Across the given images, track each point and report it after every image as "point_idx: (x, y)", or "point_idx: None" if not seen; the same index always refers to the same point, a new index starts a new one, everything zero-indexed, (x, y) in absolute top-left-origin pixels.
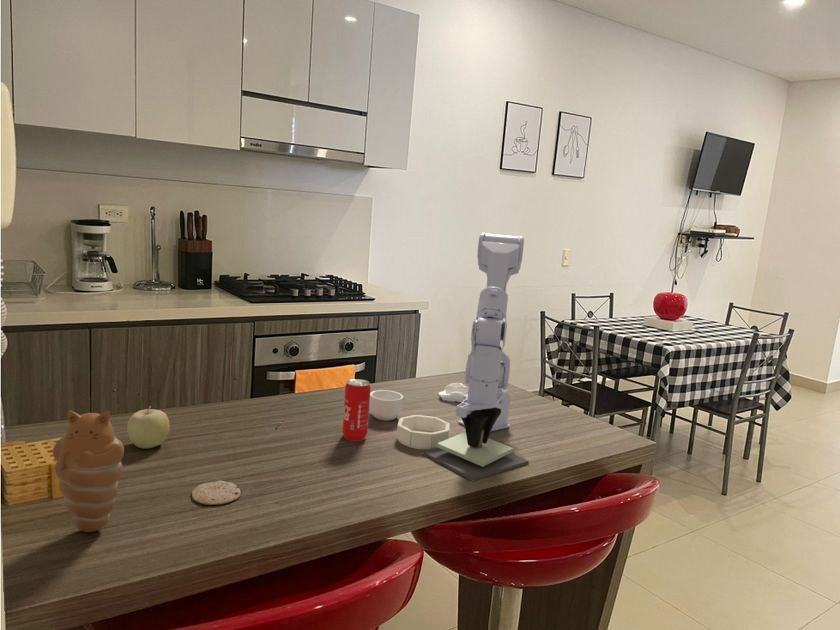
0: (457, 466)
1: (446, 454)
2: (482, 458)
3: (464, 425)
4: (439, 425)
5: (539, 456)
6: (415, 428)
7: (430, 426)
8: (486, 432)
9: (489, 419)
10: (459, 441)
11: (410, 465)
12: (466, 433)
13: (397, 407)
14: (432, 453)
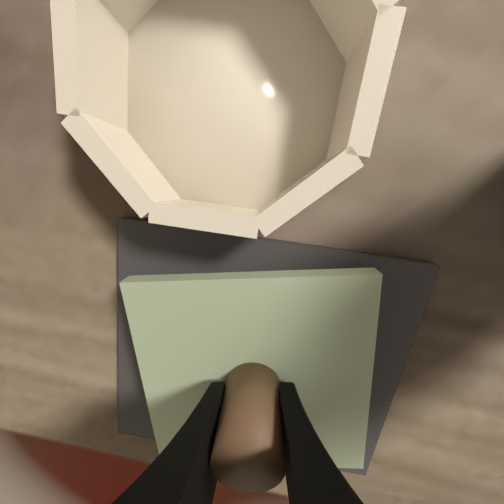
0: (137, 369)
1: None
2: None
3: (148, 467)
4: (350, 95)
5: (446, 461)
6: None
7: (344, 32)
8: (287, 475)
9: None
10: (227, 325)
11: (28, 253)
12: (185, 423)
13: None
14: (137, 253)
